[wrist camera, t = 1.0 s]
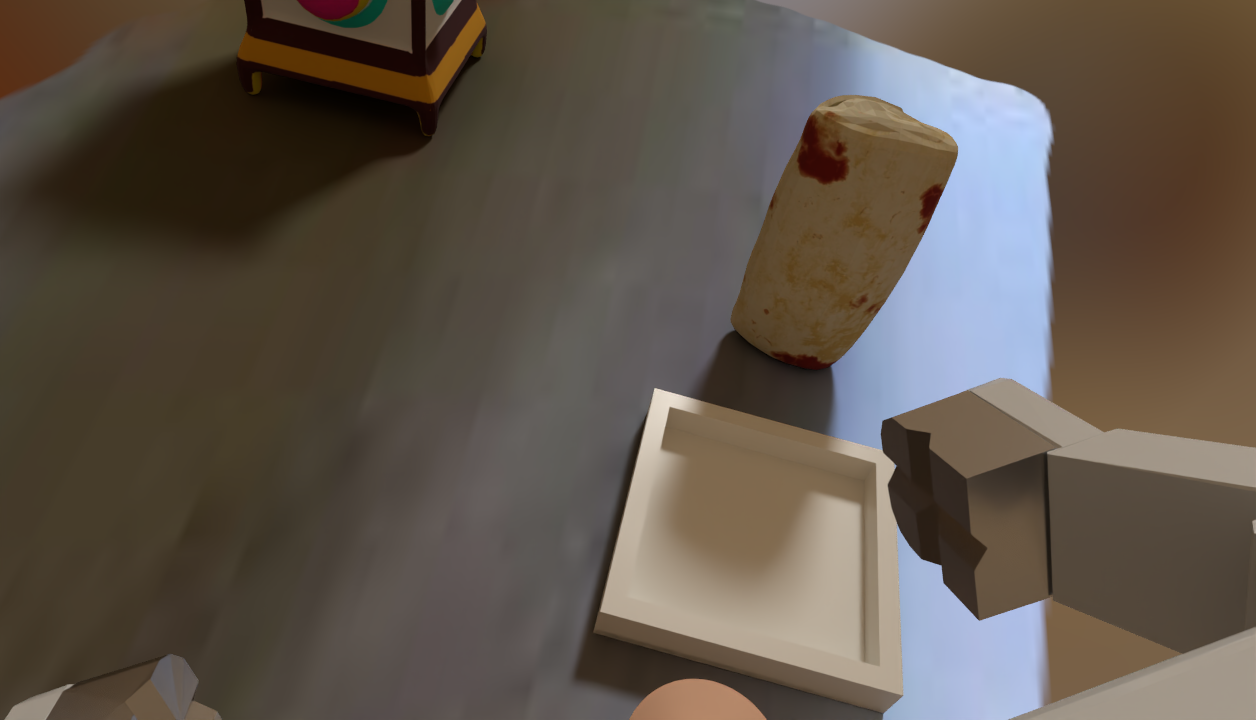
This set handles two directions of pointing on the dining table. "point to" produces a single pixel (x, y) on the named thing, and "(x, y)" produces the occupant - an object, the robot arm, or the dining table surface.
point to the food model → (841, 229)
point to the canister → (696, 703)
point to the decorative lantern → (364, 47)
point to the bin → (759, 553)
